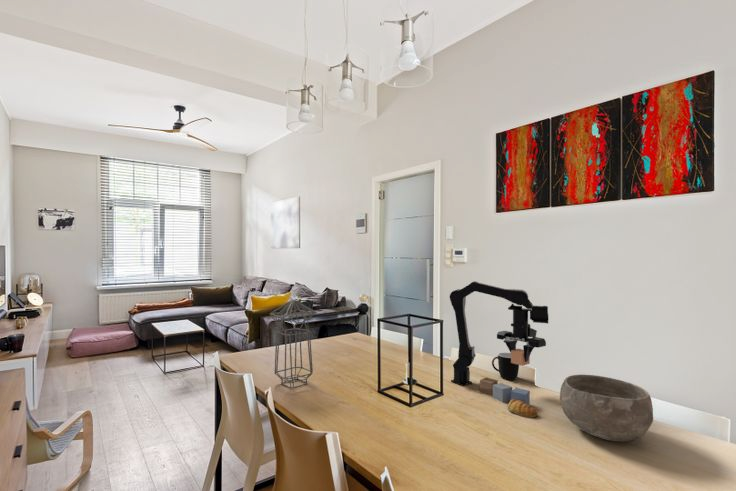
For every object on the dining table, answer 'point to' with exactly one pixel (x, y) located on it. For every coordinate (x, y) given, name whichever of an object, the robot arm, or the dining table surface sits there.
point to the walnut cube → (487, 386)
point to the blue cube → (521, 395)
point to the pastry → (521, 408)
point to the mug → (506, 366)
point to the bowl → (607, 407)
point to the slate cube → (502, 392)
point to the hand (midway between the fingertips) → (520, 360)
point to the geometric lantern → (290, 306)
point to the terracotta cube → (518, 357)
